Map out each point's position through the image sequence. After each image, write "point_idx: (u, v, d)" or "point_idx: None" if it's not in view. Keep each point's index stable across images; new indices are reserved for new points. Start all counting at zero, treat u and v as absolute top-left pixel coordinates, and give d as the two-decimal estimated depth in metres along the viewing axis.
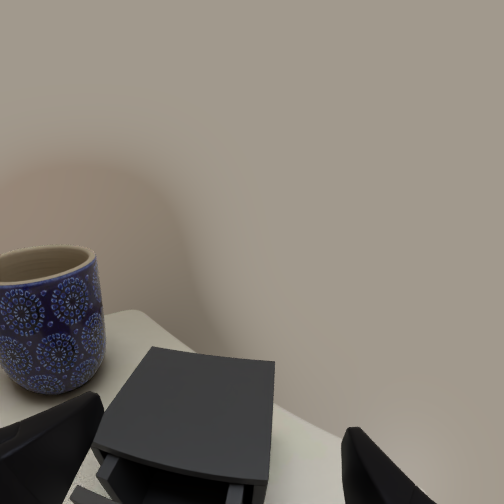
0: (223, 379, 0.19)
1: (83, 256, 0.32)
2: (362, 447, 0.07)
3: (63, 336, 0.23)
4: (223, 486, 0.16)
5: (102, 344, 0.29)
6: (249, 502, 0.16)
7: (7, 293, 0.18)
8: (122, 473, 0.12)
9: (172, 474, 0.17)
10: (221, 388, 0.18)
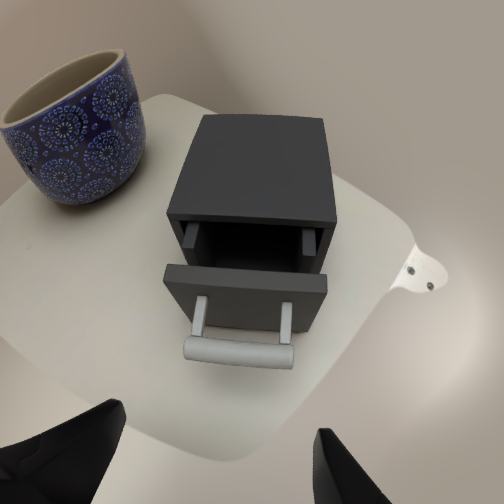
0: (280, 134, 0.21)
1: (108, 57, 0.25)
2: (330, 449, 0.07)
3: (109, 133, 0.24)
4: (283, 241, 0.25)
5: (143, 130, 0.30)
6: None
7: (45, 118, 0.18)
8: (202, 239, 0.19)
9: (235, 236, 0.25)
10: (280, 141, 0.21)
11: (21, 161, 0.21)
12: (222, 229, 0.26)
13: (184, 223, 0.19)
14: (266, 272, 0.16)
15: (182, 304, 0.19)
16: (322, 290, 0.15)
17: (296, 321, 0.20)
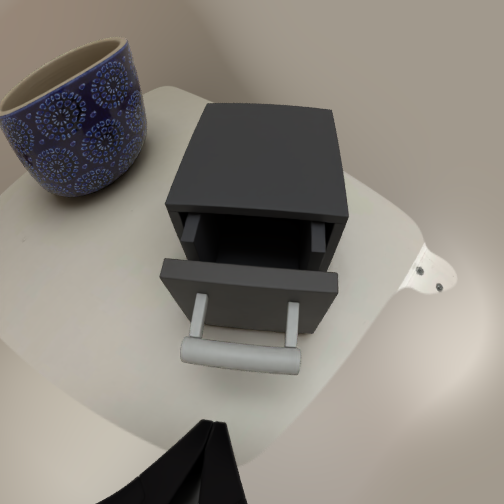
0: (287, 124, 0.20)
1: (110, 46, 0.24)
2: (213, 443, 0.07)
3: (108, 121, 0.22)
4: (288, 237, 0.24)
5: (144, 120, 0.29)
6: None
7: (42, 105, 0.17)
8: (202, 233, 0.18)
9: (238, 231, 0.24)
10: (287, 131, 0.19)
11: (17, 150, 0.20)
12: (224, 223, 0.24)
13: (184, 215, 0.18)
14: (272, 269, 0.15)
15: (180, 302, 0.18)
16: (332, 289, 0.14)
17: (302, 322, 0.18)
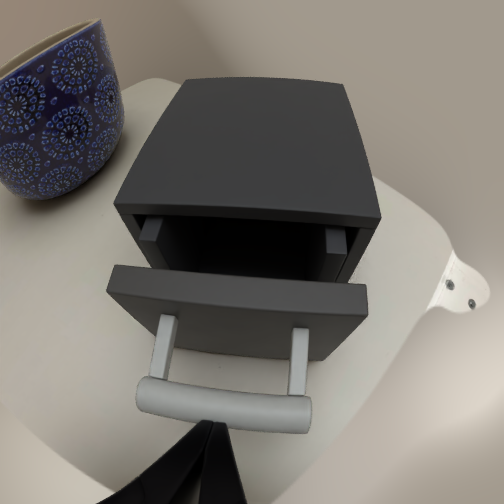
0: (287, 98, 0.14)
1: None
2: (213, 443, 0.07)
3: (72, 109, 0.17)
4: (291, 236, 0.19)
5: (120, 110, 0.24)
6: None
7: None
8: (173, 229, 0.13)
9: (227, 230, 0.19)
10: (287, 106, 0.14)
11: None
12: (210, 220, 0.19)
13: (144, 219, 0.12)
14: (268, 280, 0.10)
15: (145, 323, 0.12)
16: (360, 311, 0.09)
17: (310, 349, 0.13)
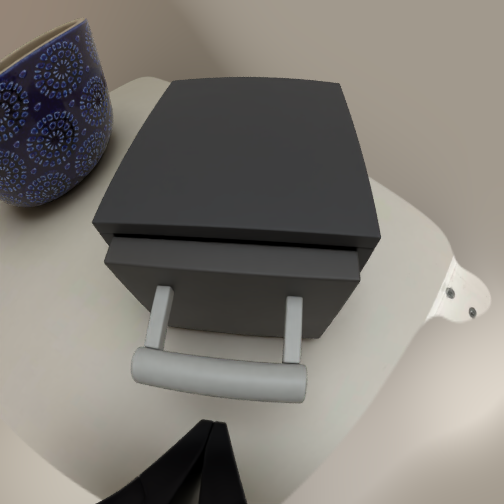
0: (280, 99, 0.14)
1: None
2: (213, 443, 0.07)
3: (57, 114, 0.16)
4: None
5: (108, 112, 0.22)
6: None
7: None
8: None
9: None
10: (279, 109, 0.13)
11: None
12: None
13: (126, 236, 0.11)
14: (261, 247, 0.10)
15: (141, 299, 0.13)
16: (352, 276, 0.09)
17: (306, 324, 0.13)
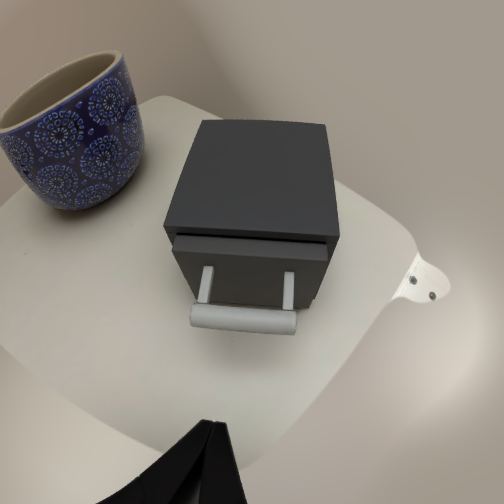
0: (281, 141, 0.21)
1: (106, 59, 0.25)
2: (213, 443, 0.07)
3: (106, 138, 0.23)
4: None
5: (141, 134, 0.30)
6: None
7: (40, 123, 0.17)
8: None
9: None
10: (281, 149, 0.20)
11: (17, 166, 0.21)
12: None
13: None
14: (270, 241, 0.17)
15: (188, 277, 0.20)
16: (322, 258, 0.16)
17: (298, 294, 0.21)
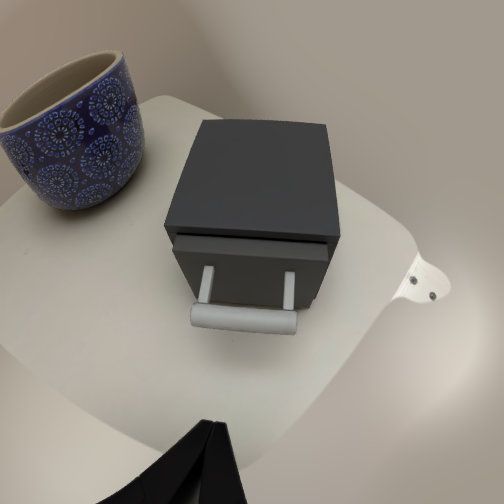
0: (282, 141, 0.21)
1: (106, 59, 0.25)
2: (213, 443, 0.07)
3: (106, 137, 0.23)
4: None
5: (142, 134, 0.30)
6: None
7: (40, 123, 0.17)
8: None
9: None
10: (281, 149, 0.20)
11: (17, 166, 0.21)
12: None
13: (182, 234, 0.19)
14: (270, 241, 0.17)
15: (189, 277, 0.20)
16: (323, 258, 0.16)
17: (298, 294, 0.21)
